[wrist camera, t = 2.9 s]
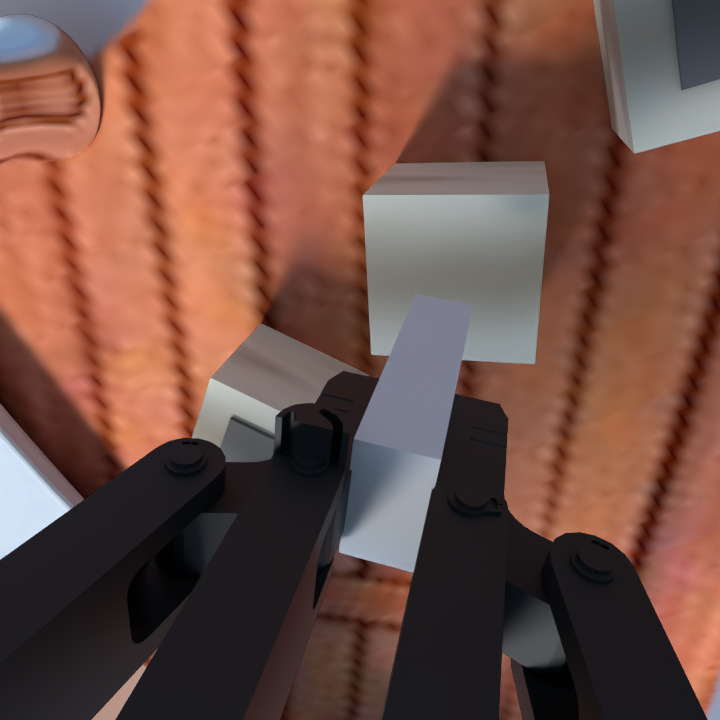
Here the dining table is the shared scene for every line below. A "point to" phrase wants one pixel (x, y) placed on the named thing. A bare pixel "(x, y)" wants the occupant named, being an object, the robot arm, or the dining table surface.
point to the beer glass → (44, 93)
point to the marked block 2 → (660, 69)
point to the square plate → (28, 487)
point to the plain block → (459, 251)
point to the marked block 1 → (261, 392)
